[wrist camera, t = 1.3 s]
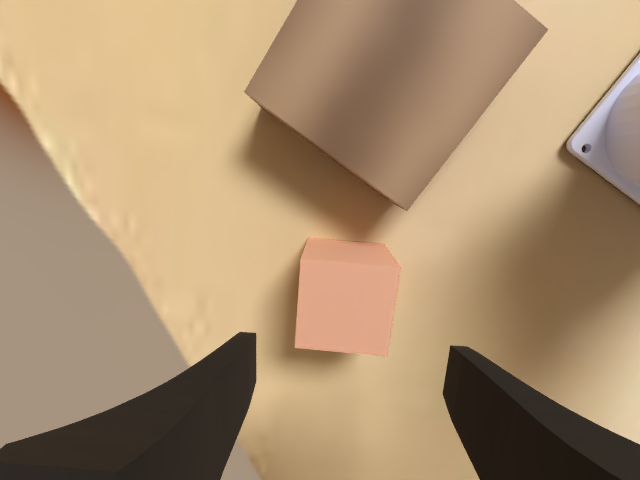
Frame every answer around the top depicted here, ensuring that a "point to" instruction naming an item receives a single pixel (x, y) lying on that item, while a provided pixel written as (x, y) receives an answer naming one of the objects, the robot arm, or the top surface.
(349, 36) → the walnut block
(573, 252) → the top surface
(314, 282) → the terracotta cube
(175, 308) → the top surface
